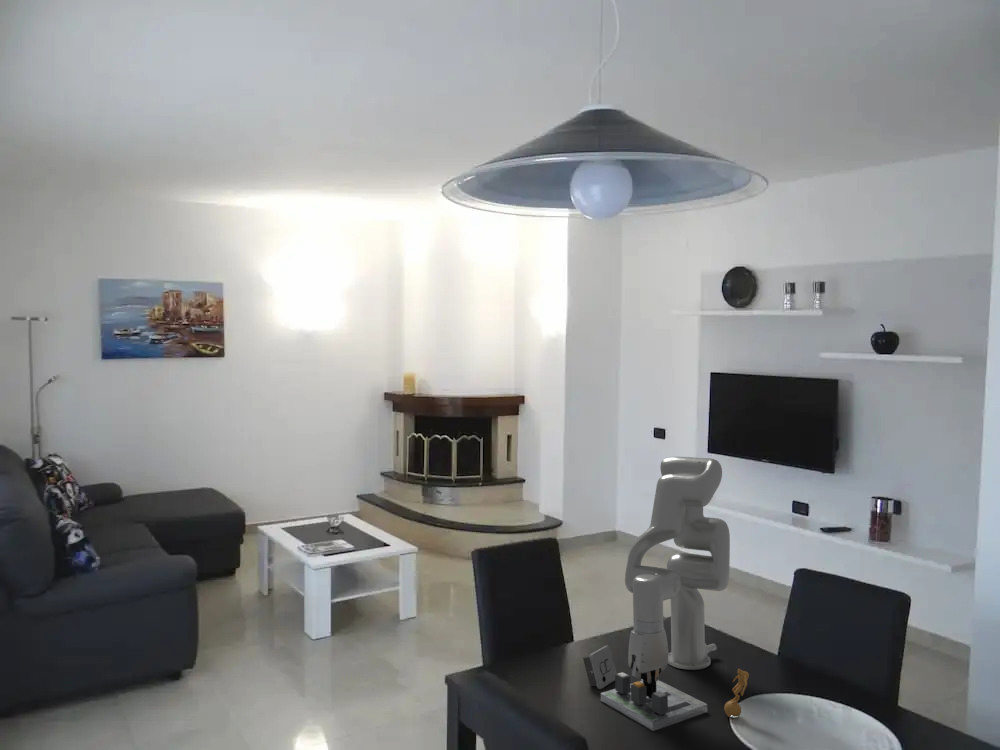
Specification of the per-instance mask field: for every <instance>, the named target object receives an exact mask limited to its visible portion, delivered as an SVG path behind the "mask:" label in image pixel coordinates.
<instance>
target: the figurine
mask: <svg viewBox="0 0 1000 750" xmlns="http://www.w3.org/2000/svg"><path fill="white" fill-rule="evenodd" d="M749 677H750V674H749V672H747V671H745V670H742V669H740V668H738V669H737V675H736V676H735V677H734V679H733V680H732V683H735V681H736V680H737V679H738V682H737V683H736V685H734V687H733V688H732V692H733V694H734V695H735V697H733V698H731V699H730V700H728V701H726V702H725V704H724V708H723V710H724V713H725V715H726V716H727V717H729V718H731V717H730V716H731V715H733V716H738V717H739V716H740V715H741V713H742V707H741V705H740V704H739V702H738V701H740V696H741V697H743V696H744V693H745V690H746V688H747V686H748V679H749ZM739 693H740V695H739Z"/></svg>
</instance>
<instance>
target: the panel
mask: <svg viewBox="0 0 1000 750" xmlns="http://www.w3.org/2000/svg"><path fill="white" fill-rule="evenodd" d="M638 681H639V682H641V683H643V680H638ZM633 683H634V682H633ZM633 683H630V692H629V693H625V694H622V693H620V692H618V691H616V690H615V688H613V689H609V690H606V691H602V692H600V702H603V704H606V705H607V706H609V707H611V708H612V709H614V710H616V711H618V712H619V713H621V714H623V715H625V717H628V718H630V719H631V720H633V721H634V722H636V723H638V724H640V725H642V726H643V727H645V728H647V729H649V730H651V731H652V732H654V731H656V730H657V731H658V730H660V729H663V728H667V727H669V726H672V725H675V724H678V723H680V722H683V721H686V720H688V719H691V718H694V717H698V716H700V715H703V714H705V713H708V704H707V703H706V702H704V701H702V700H700V699H698V698H695V697H694V696H691V695H690V694H688V693H686V692H683V691H681V690H680V689H678V688H675V687H674V686H671V685H670V684H667V683H666V682H663V681H661V680H659V679H658V681H656V692H658V691H660V692H662V693H664V694H666V695H667V696H668V712H667V713H664V714H661V715H660V714H658V713H656V712H654V711H652V698H649V697H648V696H647V702H646V703H643V704H640V705H638V704H637V703H635V702H633V701H631V684H633Z"/></svg>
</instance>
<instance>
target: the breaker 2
mask: <svg viewBox="0 0 1000 750" xmlns="http://www.w3.org/2000/svg"><path fill="white" fill-rule="evenodd" d="M652 711H654V712H656V713H658V714H660V715H661V714H664V713H667V712H668V696H667V695H666V694H664V693H662V692H660V691H658V692H655V693H652Z"/></svg>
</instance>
